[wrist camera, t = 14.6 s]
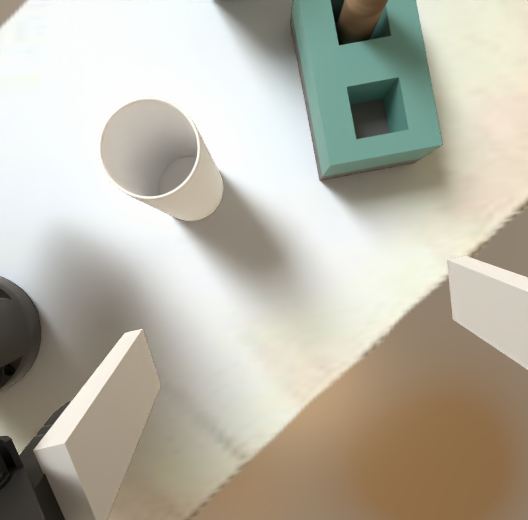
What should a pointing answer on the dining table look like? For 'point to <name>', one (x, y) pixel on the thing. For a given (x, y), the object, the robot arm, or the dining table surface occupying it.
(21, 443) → the dining table surface
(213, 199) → the cup
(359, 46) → the socket block
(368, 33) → the walnut pin
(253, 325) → the dining table surface
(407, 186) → the dining table surface
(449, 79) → the dining table surface
